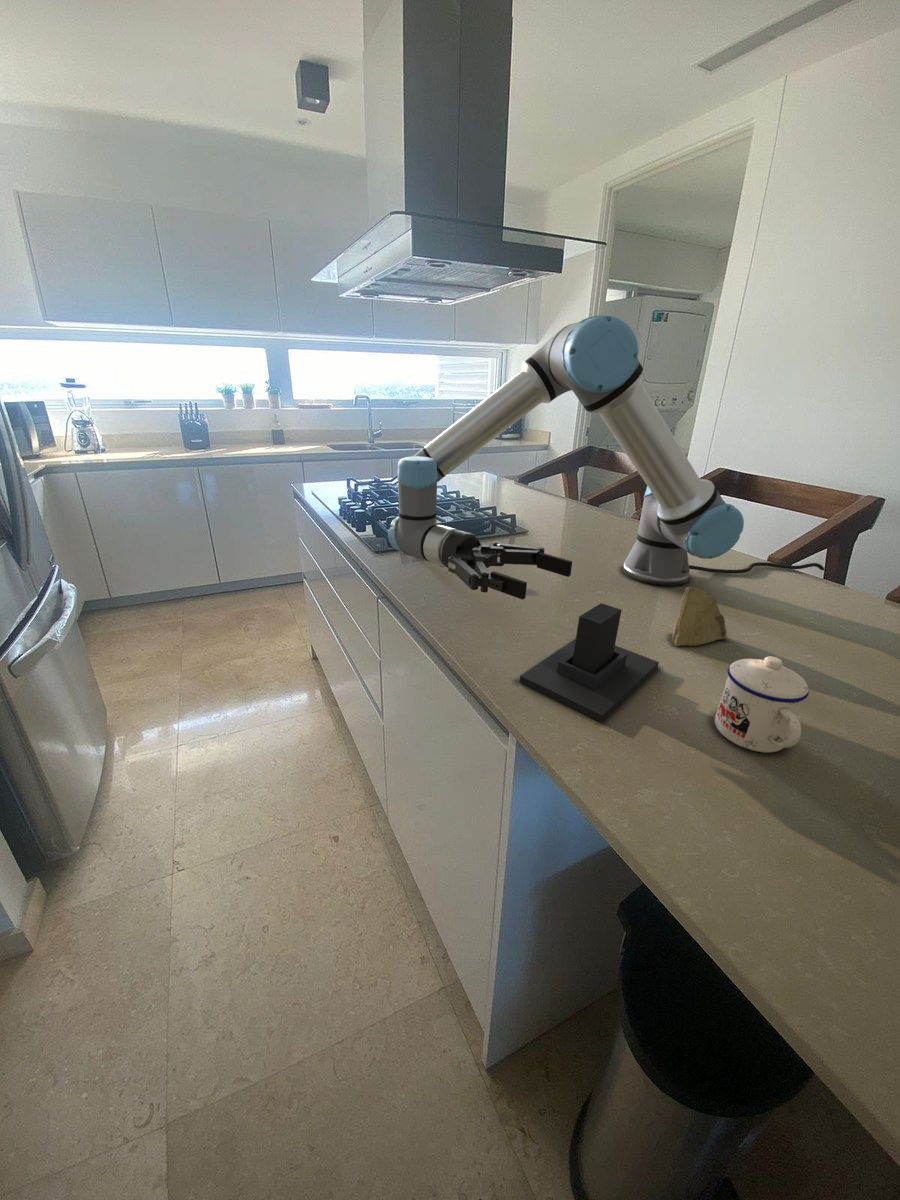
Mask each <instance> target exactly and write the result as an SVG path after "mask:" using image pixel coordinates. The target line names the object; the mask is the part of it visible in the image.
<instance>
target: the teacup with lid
mask: <svg viewBox="0 0 900 1200" xmlns="http://www.w3.org/2000/svg"><path fill="white" fill-rule="evenodd" d="M783 664H784V663H783V661H782V660H781V659H780V658H778V657H776V656H772V655H769V656H766V657H764V659H759V658H758V659H757V658H741V659H738V660H735V661H734V662H732V663H731V664H730V665H729V666H728V668H727V678H726V681H725V685H724V687H723V690H722V694H721V698H720V701H719V703H718V707H717V710H716V713H715V716H714V724H715V728H716V729H717V731H718V732H719V733H720V734H721V735H722V736H724V737H725V738H726V739H727V740H729V741H730V742H731V743H733V744H735V745H737V746H739V747H741V748H744V749H746V750H750V751H753V752H758V753H759V752H760V753H775V752H779V751H781V750H783V749H786V748H787V749H788V748H792V747H794V746H795V745H797V743H798V742H799V741H800V739H801V736H802V725H801V723H800V720H799V717H798V715H799V712H800V710H801V708H802V705H803V703H804V701H805V700H806V699H807V698H808V696H809V694H810V693H809V692H810V691H809V686H808V684H807V681H806V680H805V679H804V678H803V677H802V676H801V675H800V674H799V673H797V672H795V671H794V670H792V669H790V668H788V667H786V666H784V665H783Z"/></svg>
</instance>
